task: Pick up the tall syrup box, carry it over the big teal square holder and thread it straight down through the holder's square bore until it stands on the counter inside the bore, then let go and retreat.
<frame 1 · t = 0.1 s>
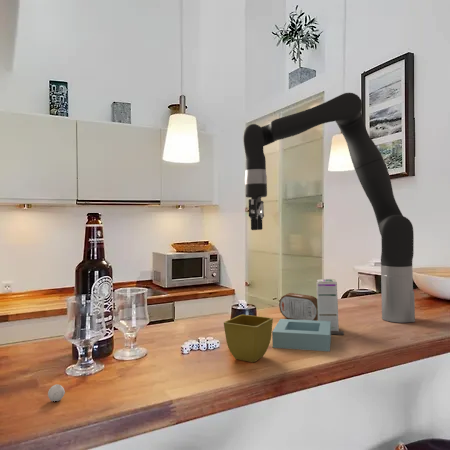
hand: (256, 229, 139), 29 cm above the countertop, tool pointing down, fingers open, 8 cm apart
flower pot: (249, 359, 93), on the countertop
grey ball: (56, 402, 72), on the countertop
syrup box: (327, 330, 116), on the countertop
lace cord: (309, 333, 113), on the countertop
teal square holder: (303, 341, 106), on the countertop
tin: (299, 321, 128), on the countertop
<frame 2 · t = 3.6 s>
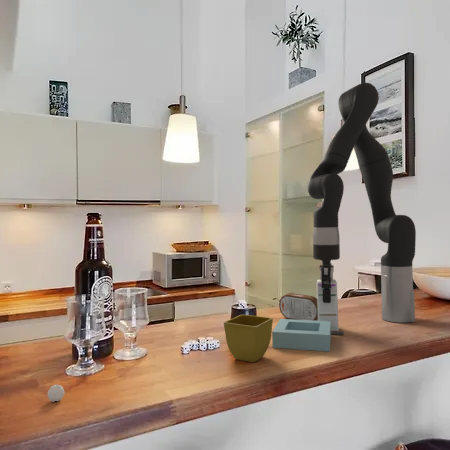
hand: (327, 300, 116), 9 cm above the countertop, tool pointing down, fingers closed on syrup box, 6 cm apart
syrup box: (327, 330, 116), on the countertop, touching gripper
everything else where it was.
when the fingers open (10 cm above the countertop, at t = 8.6 s): syrup box drops 1 cm, resting in teal square holder.
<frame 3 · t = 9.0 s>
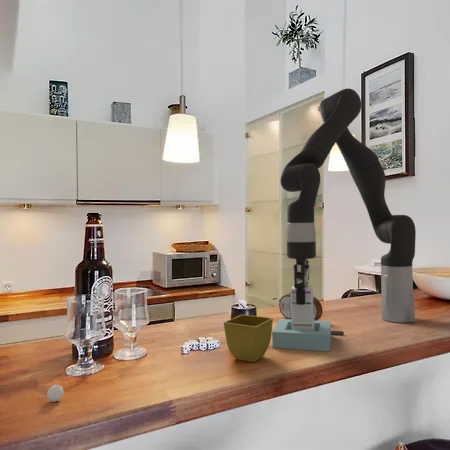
hand: (302, 301, 106), 11 cm above the countertop, tool pointing down, fingers open, 8 cm apart
syrup box: (303, 342, 105), resting in teal square holder
everything else where it was.
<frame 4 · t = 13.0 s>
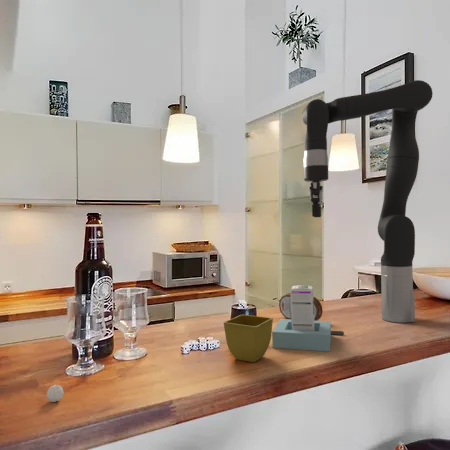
hand: (316, 217, 126), 33 cm above the countertop, tool pointing down, fingers open, 8 cm apart
nothing on the countertop moved.
at the end: syrup box 0.1 cm from the teal square holder (horizontally); syrup box tilted 0°; the gripper is holding nothing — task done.
